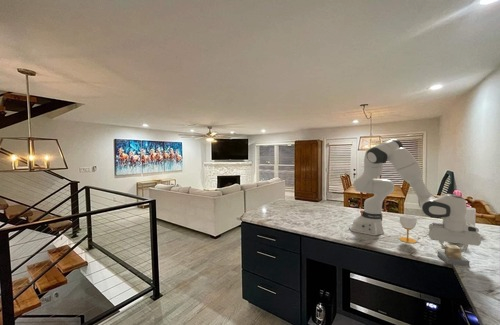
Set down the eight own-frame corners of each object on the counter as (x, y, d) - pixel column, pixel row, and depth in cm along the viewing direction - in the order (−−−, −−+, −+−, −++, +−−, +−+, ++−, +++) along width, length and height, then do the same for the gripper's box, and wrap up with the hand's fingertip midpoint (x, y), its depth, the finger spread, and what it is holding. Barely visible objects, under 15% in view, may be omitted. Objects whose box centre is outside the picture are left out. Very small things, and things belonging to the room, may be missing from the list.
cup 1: (399, 241, 136) (399, 217, 135) (398, 236, 144) (399, 213, 143) (417, 244, 131) (417, 219, 130) (415, 239, 139) (416, 215, 138)
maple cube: (448, 257, 111) (448, 247, 110) (444, 252, 115) (444, 244, 115) (461, 258, 109) (461, 249, 108) (456, 254, 113) (456, 245, 113)
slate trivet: (448, 264, 109) (448, 259, 109) (437, 256, 118) (437, 251, 117) (469, 266, 107) (469, 261, 106) (456, 258, 115) (457, 252, 115)
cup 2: (462, 230, 150) (463, 209, 150) (456, 226, 158) (457, 206, 157) (477, 232, 148) (478, 210, 147) (470, 228, 155) (471, 206, 154)
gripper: (431, 224, 112) (430, 249, 113) (483, 229, 104) (482, 256, 105) (427, 220, 118) (426, 244, 119) (475, 225, 110) (474, 250, 110)
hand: (452, 250), depth 112 cm, fingers open, 6 cm apart
